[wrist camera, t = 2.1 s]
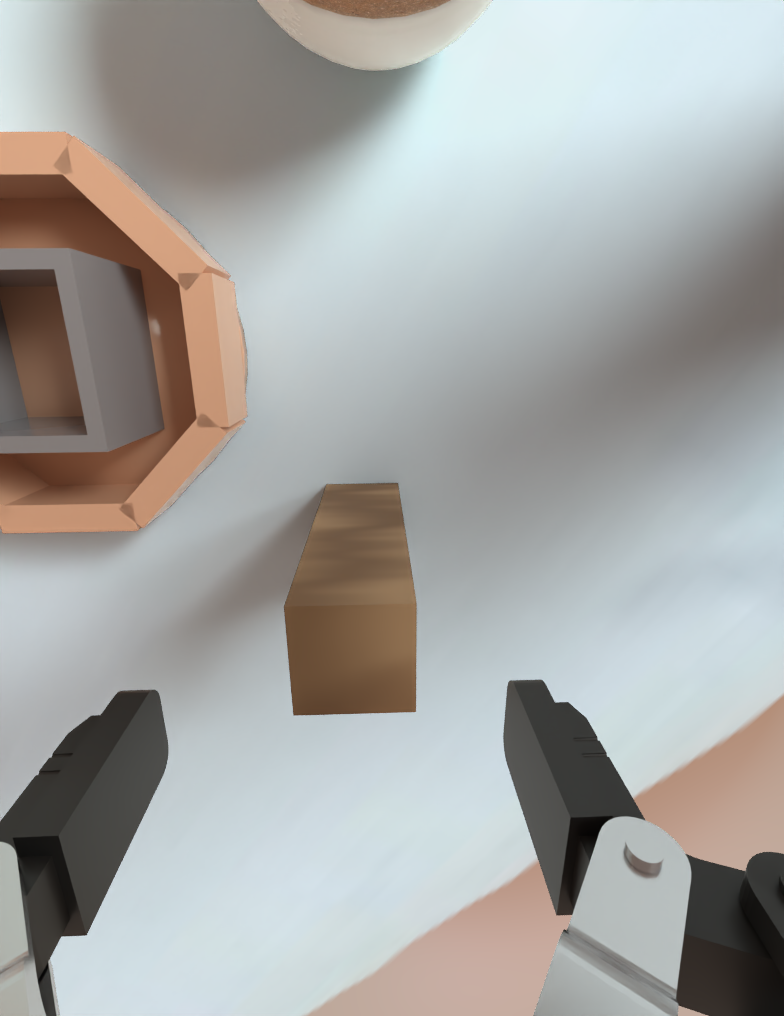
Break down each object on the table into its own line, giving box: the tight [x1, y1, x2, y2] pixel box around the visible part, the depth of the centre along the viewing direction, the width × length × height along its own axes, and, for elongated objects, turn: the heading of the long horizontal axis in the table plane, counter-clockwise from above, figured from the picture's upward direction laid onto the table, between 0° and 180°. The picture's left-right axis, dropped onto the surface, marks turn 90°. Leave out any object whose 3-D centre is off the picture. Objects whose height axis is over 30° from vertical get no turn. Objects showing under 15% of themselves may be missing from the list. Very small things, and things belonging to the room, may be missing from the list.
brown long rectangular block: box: [284, 483, 416, 715], centre depth 20 cm, size 4×4×12 cm
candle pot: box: [0, 132, 248, 533], centre depth 20 cm, size 14×14×6 cm
